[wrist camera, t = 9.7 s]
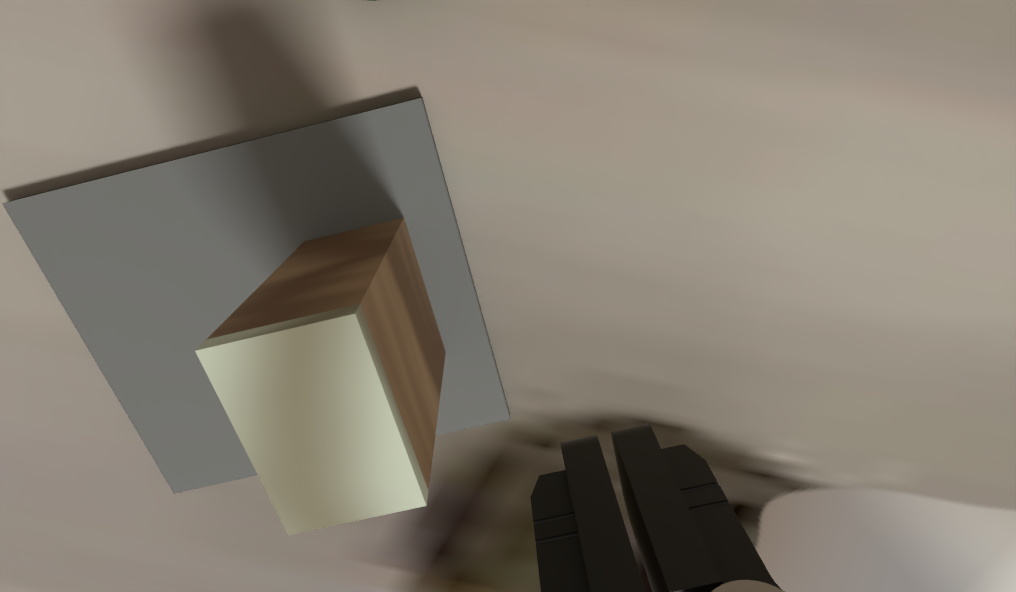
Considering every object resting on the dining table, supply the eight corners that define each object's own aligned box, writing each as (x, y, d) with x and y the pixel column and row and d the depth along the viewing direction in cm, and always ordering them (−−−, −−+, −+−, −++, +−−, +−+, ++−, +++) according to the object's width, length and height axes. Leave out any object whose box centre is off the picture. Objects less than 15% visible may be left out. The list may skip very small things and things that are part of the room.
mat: (422, 97, 20) (421, 97, 20) (509, 414, 26) (510, 419, 25) (10, 201, 21) (1, 203, 21) (178, 487, 27) (173, 493, 26)
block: (403, 217, 22) (355, 313, 13) (445, 352, 24) (426, 505, 16) (304, 241, 22) (194, 350, 14) (355, 372, 24) (288, 535, 16)
